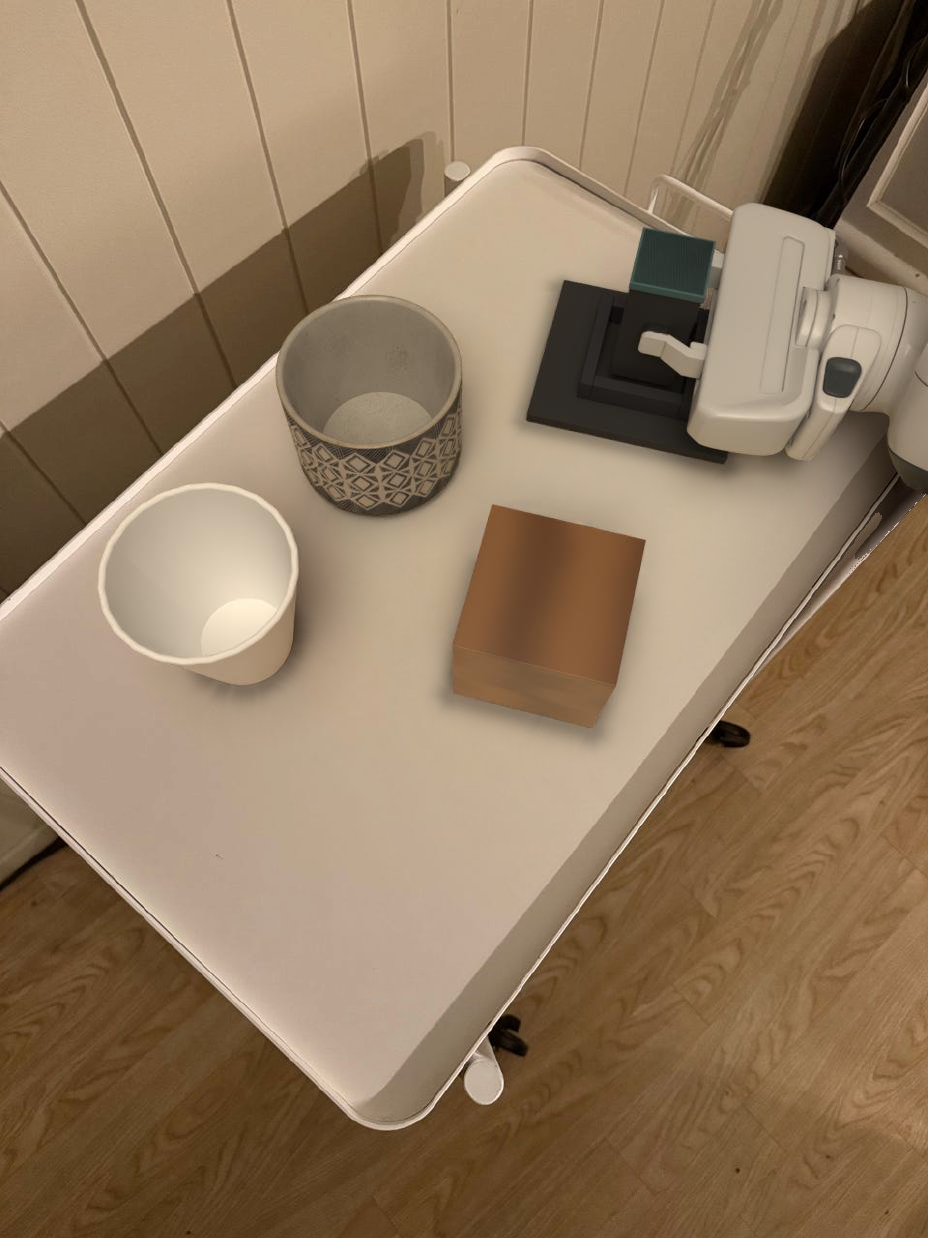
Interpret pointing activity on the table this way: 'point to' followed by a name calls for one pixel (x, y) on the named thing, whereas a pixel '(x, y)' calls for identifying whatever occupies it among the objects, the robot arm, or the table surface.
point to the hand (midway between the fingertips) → (648, 302)
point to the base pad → (610, 380)
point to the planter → (373, 402)
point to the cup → (204, 582)
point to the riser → (546, 616)
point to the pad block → (661, 299)
